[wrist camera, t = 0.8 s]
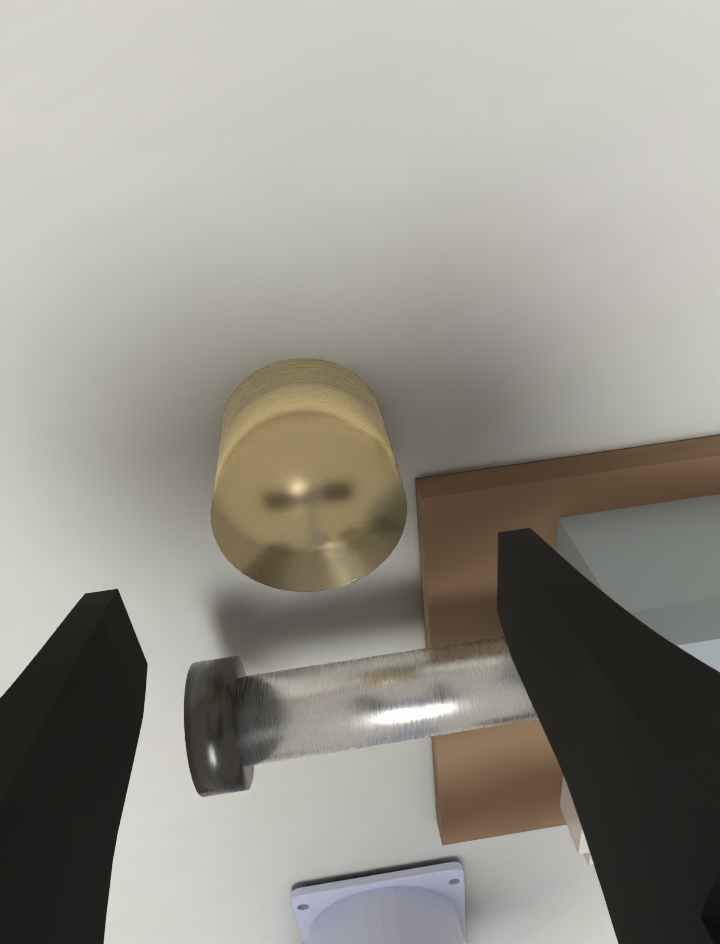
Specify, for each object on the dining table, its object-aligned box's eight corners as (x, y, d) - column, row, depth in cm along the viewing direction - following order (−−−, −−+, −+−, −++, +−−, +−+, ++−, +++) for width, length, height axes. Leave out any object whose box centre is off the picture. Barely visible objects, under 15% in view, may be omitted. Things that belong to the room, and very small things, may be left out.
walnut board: (790, 763, 30) (805, 784, 29) (437, 822, 29) (442, 845, 29) (937, 404, 20) (966, 419, 20) (415, 479, 20) (421, 498, 19)
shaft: (615, 652, 22) (670, 748, 19) (218, 715, 22) (209, 823, 19) (628, 569, 20) (691, 661, 17) (191, 635, 20) (177, 743, 17)
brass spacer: (388, 487, 20) (412, 577, 16) (239, 509, 20) (232, 603, 16) (375, 347, 17) (400, 418, 14) (206, 370, 17) (190, 448, 14)
